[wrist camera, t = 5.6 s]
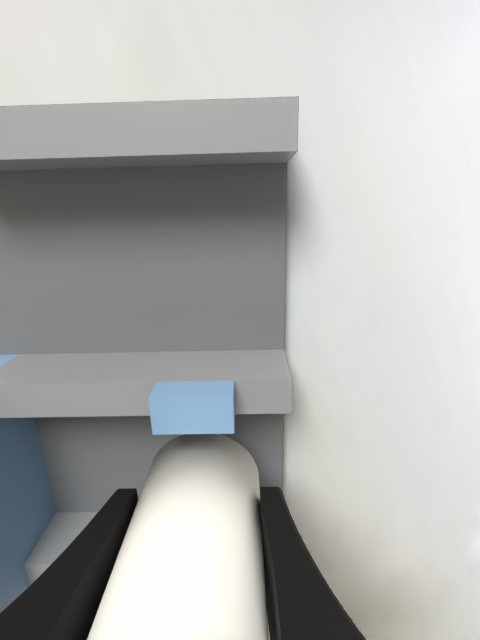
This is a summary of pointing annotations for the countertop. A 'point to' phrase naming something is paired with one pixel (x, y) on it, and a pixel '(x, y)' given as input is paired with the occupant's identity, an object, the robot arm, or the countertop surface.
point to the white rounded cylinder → (191, 550)
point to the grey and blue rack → (134, 302)
